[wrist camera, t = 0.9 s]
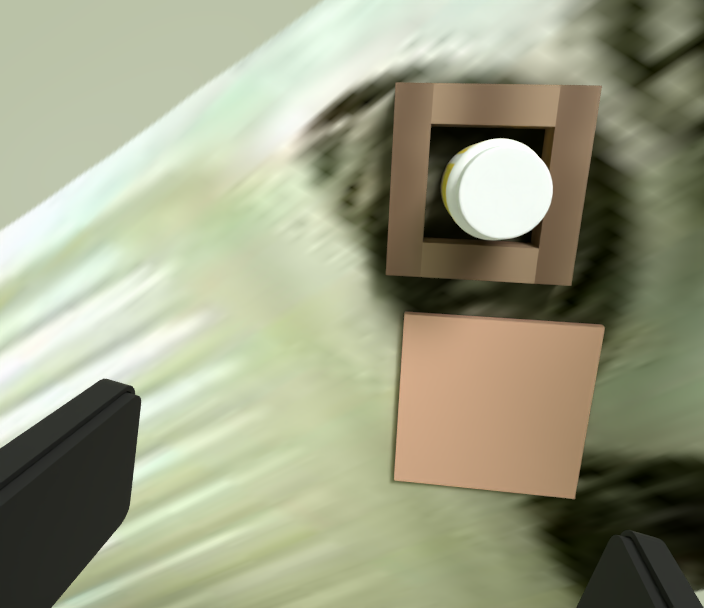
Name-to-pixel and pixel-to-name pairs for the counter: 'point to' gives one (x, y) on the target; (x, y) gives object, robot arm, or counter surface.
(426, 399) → the terracotta coaster
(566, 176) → the walnut cup holder
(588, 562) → the counter surface
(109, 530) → the robot arm
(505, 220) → the supplement bottle
